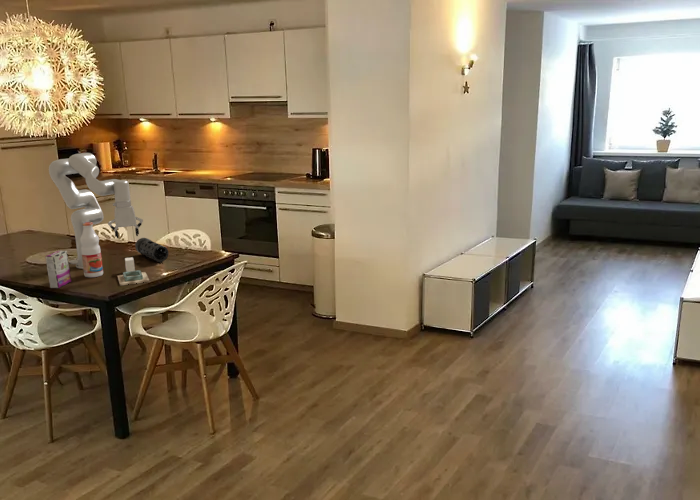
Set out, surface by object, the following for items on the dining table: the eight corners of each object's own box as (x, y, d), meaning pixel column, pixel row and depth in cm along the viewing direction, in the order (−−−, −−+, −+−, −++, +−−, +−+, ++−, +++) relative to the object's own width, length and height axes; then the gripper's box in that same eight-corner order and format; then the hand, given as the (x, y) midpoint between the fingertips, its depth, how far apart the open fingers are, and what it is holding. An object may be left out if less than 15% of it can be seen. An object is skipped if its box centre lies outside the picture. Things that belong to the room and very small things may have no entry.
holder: (120, 285, 316) (119, 279, 315) (117, 277, 330) (116, 271, 330) (149, 281, 321) (148, 276, 321) (145, 273, 336) (145, 268, 335)
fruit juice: (93, 272, 341) (87, 220, 334) (107, 273, 338) (101, 221, 331) (80, 276, 332) (73, 224, 325) (94, 278, 329) (88, 225, 322)
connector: (127, 274, 335) (125, 260, 333) (126, 271, 340) (124, 258, 338) (135, 273, 336) (133, 259, 335) (134, 270, 342) (132, 257, 340)
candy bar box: (62, 281, 325) (58, 250, 321) (71, 281, 324) (67, 250, 320) (49, 288, 314) (44, 256, 310) (58, 288, 313) (53, 256, 309)
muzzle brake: (153, 265, 352) (151, 247, 350) (134, 255, 374) (133, 238, 371) (170, 262, 358) (168, 244, 356) (150, 252, 379) (149, 235, 377)
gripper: (106, 207, 323) (110, 240, 327) (141, 203, 329) (145, 236, 333) (105, 205, 329) (109, 237, 333) (140, 201, 336) (143, 233, 340)
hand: (127, 236), depth 333 cm, fingers open, 9 cm apart
